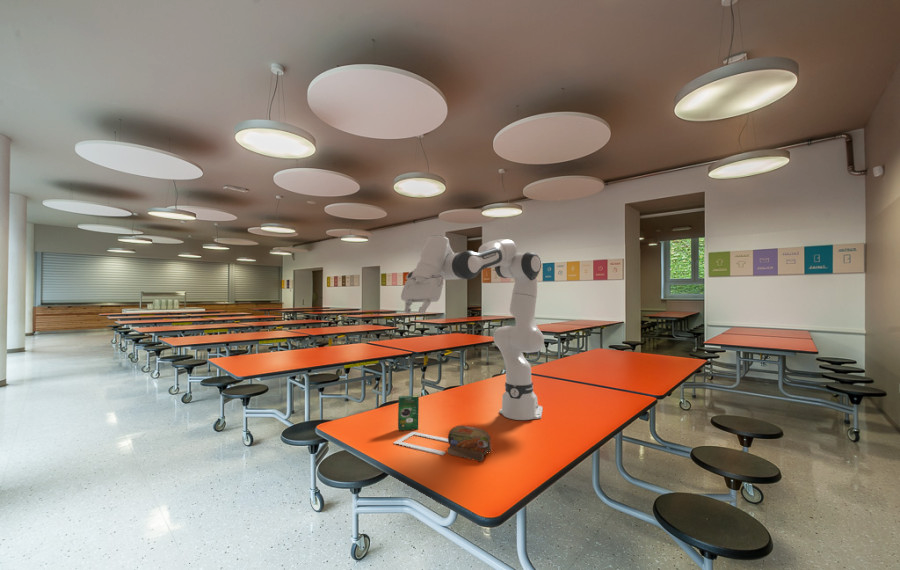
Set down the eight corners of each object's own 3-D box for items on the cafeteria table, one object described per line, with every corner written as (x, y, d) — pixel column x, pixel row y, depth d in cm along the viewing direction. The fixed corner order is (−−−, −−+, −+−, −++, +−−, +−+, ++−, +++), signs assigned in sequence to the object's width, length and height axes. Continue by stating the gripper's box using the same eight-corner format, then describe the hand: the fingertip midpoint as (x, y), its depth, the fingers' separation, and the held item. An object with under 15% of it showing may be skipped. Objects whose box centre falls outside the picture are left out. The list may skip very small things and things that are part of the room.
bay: (412, 432, 134) (412, 431, 134) (459, 442, 124) (459, 441, 124) (393, 443, 123) (393, 442, 123) (442, 455, 113) (442, 454, 113)
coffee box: (418, 427, 140) (417, 394, 140) (419, 429, 137) (418, 396, 138) (397, 429, 138) (397, 395, 138) (398, 431, 135) (398, 397, 135)
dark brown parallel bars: (459, 444, 122) (459, 438, 122) (491, 451, 116) (491, 445, 116) (447, 454, 114) (447, 447, 114) (481, 461, 109) (480, 455, 109)
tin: (447, 450, 117) (447, 425, 118) (451, 447, 120) (451, 422, 120) (489, 459, 110) (488, 432, 111) (492, 455, 113) (492, 429, 113)
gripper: (450, 278, 116) (438, 316, 112) (418, 281, 132) (406, 315, 128) (436, 270, 112) (423, 309, 108) (404, 274, 128) (392, 309, 124)
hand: (413, 313), depth 118 cm, fingers open, 8 cm apart
